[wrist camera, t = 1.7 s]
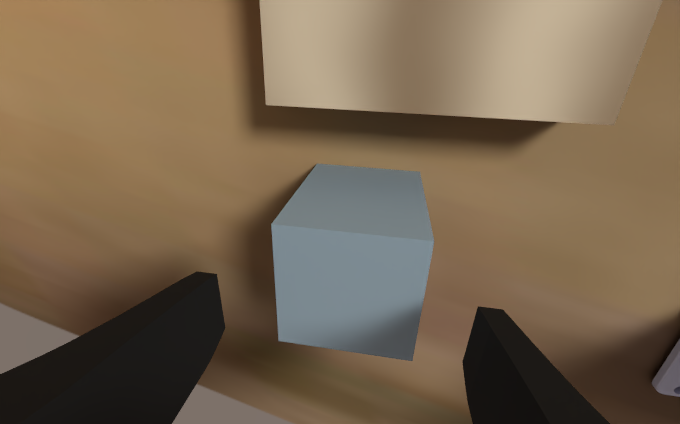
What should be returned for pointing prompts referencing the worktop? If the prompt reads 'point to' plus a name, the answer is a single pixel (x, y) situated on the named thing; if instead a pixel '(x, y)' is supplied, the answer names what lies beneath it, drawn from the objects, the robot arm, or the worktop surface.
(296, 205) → the blue block
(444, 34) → the birch base
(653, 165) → the worktop surface
